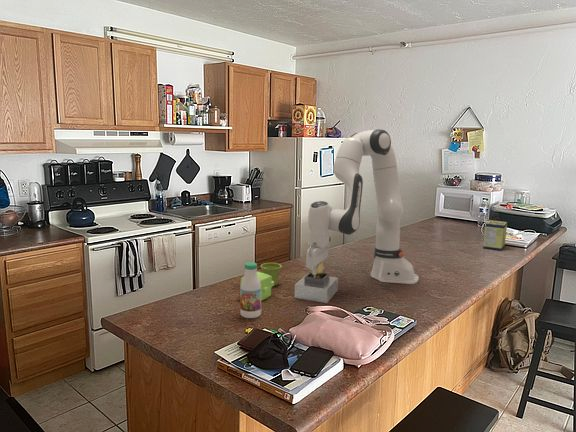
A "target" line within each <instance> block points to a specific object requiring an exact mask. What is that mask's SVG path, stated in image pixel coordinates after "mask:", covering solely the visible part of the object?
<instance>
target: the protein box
mask: <svg viewBox="0 0 576 432" xmlns="http://www.w3.org/2000/svg"><path fill="white" fill-rule="evenodd" d="M507 228H508V221H502V220H501V221H500V220H492V219H489V220H488V221H487V222H486V223H485V226H484V237H483V245H482V248H483V249H485V250H493V251H498V252H499V251H500V252H502V250H503V249H504V247H505V246H506V238H507Z"/></svg>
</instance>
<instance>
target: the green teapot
mask: <svg viewBox="0 0 576 432" xmlns="http://www.w3.org/2000/svg"><path fill="white" fill-rule="evenodd" d="M257 275H258V278H259V280H260V283H261V302H262V301H264V300H265V299H267V298H269V297H271V296H272V287H275V286H274V281H272V276H270V275H268V274H265V273H263V272H261V271H257ZM243 277H244V276H242V277H240V283H239V284H240V285H239V286H240V288H239V293H240V294H239V296H240V295H241V282H242V279H243Z"/></svg>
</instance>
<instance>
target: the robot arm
mask: <svg viewBox="0 0 576 432" xmlns="http://www.w3.org/2000/svg"><path fill="white" fill-rule="evenodd" d="M368 156H370V158H371V165H372V174H373V183H374V190H375V196H376V202H377V203H376V227H375V228H376V231H375V233H376V234H375V246H374V249H373V258H374V259H373V265H372V270H371V271H370V276H371V277H372V279H375V280H378V281H379V282H381V283H389V284H390V283H391V284H404V285H405V284H406V285H416V284H417V283H418V282H419V279H420V278H419V275H418V274H417V273H415V269H414V266H413V264H412V263H410V261H408V260H407V259H406V258H405V257H404V249H401V248H400V241H401V239H400V238H401V218H402V216H403V213H404V207H403V201H402V200H403V199H402V194H401V188H400V183H399V175H398V173H399V172H398V166H397V159H396V154H395V151H394V148H393V146H392V140H391V136H390V134H389V133H388V131H386V130H385V129H368V130H364V131H361V132H355V133H353V134H352V135H350V136H349V137H347V138H344V139H343V141H342V142H341V144H340V146H339V148H338V151H337V153H336V155H335V159H334V162H333V167H332V171H333V174H334V176H335V177H336V179H337V180H338V181H340V182H341V183H343V184H344V185H346V186H347V187H348V190H349V192H348V201H347V206H346V209H343V208H342V209H341V208H337V207H332V206H331V205H329V203H328V202H327V201H323V200H319V201H314V202H312V203H311V204H310V206H309V210H308V215H307V220H308V221H307V224H308V231H307V245H308V246H310V247H309V248H307V251H306V256H305V257H306V258H305V266H307V267H309V268H312V274H313V275H316V274H317V265H318V264H319V263H321V262H323V263H324V260H326V258H328V256H329V254H330V253H329V252H330V242H331V241H332V240H331V239H332V237H331V236H330V232H329V230H330V231H333V232H337V233H338V232H339V233H341V234H345V235H348V236H349V235H352V234H354V233H355V232H357V230H359V228H360V224H361V222H360V221H361V217H360V216H361V215H360V213H361V203H362V196H363V195H362V194H363V184H364V181H363V177H362V175H361V174H360V167H361V162H362V159H363V157H368Z"/></svg>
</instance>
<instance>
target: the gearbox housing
mask: <svg viewBox="0 0 576 432" xmlns="http://www.w3.org/2000/svg"><path fill="white" fill-rule="evenodd" d="M338 284H339V277H336V276H330V273H326V272H323V279H321V278H314V277H311V271H309V272H308V273H306V274H305V275H304V276H303V277H302V278H301V279H299V280H298V281H297V282H295V284H294V299H299V300H305V301H309V302H310V301H311V302H317V303H324V304H328V303H329V301H330V300H331V299H332V298H333V297H334V296H335V294H336V293H337V292H338V286H339V285H338Z"/></svg>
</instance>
